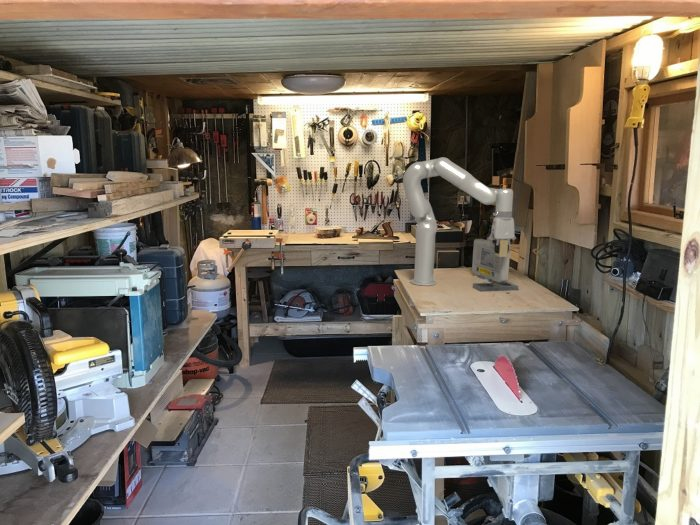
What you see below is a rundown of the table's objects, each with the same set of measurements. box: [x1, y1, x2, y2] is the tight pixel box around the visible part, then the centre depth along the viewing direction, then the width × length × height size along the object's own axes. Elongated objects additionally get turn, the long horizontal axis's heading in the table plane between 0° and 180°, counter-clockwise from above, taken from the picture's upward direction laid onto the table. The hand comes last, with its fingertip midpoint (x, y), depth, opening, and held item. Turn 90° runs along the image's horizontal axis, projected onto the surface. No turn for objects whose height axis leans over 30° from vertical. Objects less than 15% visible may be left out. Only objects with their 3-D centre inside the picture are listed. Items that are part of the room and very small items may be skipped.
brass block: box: [496, 239, 508, 257], centre depth 262 cm, size 4×4×8 cm
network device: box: [471, 238, 511, 283], centre depth 281 cm, size 26×9×20 cm, turn 22°
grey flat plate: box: [472, 281, 519, 292], centre depth 266 cm, size 8×20×2 cm, turn 103°
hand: (501, 252), depth 263 cm, fingers closed on brass block, 4 cm apart
